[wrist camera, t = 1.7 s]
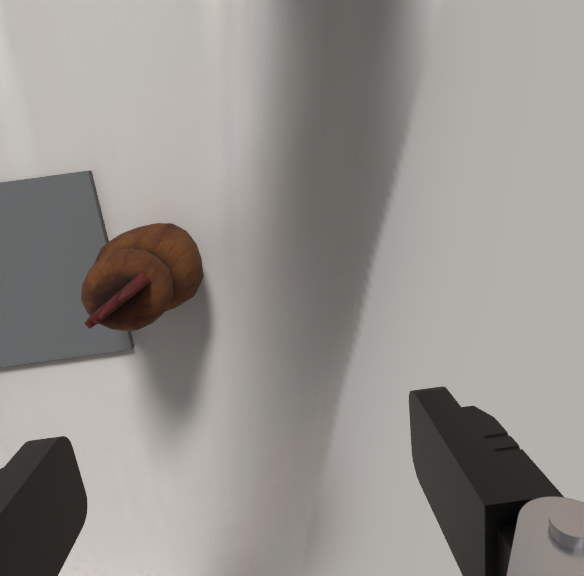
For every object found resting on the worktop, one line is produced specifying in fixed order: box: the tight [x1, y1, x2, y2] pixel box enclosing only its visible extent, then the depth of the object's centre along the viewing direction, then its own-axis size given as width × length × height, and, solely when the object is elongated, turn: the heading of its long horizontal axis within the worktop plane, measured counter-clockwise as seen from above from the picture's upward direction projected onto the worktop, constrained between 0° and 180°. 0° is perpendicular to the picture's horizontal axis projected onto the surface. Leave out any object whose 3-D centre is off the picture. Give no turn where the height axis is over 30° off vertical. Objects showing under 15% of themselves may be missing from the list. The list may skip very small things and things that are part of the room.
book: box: [0, 171, 134, 367], centre depth 35 cm, size 16×14×1 cm
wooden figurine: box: [81, 223, 203, 331], centre depth 28 cm, size 7×6×15 cm
